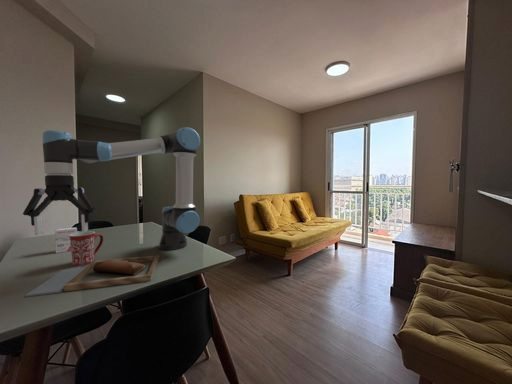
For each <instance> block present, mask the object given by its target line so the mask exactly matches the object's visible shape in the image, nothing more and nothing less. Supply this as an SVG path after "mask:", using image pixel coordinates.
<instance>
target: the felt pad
mask: <svg viewBox="0 0 512 384" xmlns="http://www.w3.org/2000/svg"><path fill="white" fill-rule="evenodd" d="M85 268H86V267H80V268H70V269H61V270H60V271H59V272H58V273H56V274H54V275H53V276H52V277H50V278H49V279H47V280H46V281H44V282H43V283H41V284H40V285H38V286H37V287H36V288H34V289H33V290H30V292H28V293H27V294H25V298H28V297H36V296H37V297H38V296H42V295H52V294H60V293H63V292H64V285H65V284H67V283H68V282H69V281H70V280H71V279H73V278H74V277H75V276H76V275H78V274H79V273H80V272H81V271H83V270H84V269H85Z"/></svg>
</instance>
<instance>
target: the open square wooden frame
mask: <svg viewBox="0 0 512 384" xmlns="http://www.w3.org/2000/svg"><path fill="white" fill-rule="evenodd" d="M107 260H108V259H102V260H94V261H93V262H91V263H89V265H88V266H85V267H84V268H85V269H84V270H83V271H81V272H80V273H79V274H78V275H76V276H75V277H74V278H73V279H71V280H70V281H69V282H68V283H67V284H65V285H64V291H63V292H64V293H65V292H70V291H71V292H72V291H79V290H87V289H94V288H95V289H96V288H104V287H105V288H106V287H111V286H112V287H113V286H120V285H128V284H136V283H143V282H151V281H152V279H153V276H154V273H155V272H156V268H157V266H158V263H159V261H160V255H159V254H157V255H148V256H145V255H144V256H136V257H135V256H134V257H124V258H114V259H111V260H128V262H135V263H141V262H142V263H143V262H151V265H150V267H149V269H148V271H147V273H146V274H138V275H137V274H136V275H130V276H122V277H121V276H120V277H112V278H104V279H96V280H95V279H94V280H85V281H83V280H84V278H86V277H87V276H88V275H89V274H90V273H91V272H94V270H93V267H94V265H95V264H96V263H98V262H102V261H107Z"/></svg>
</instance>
